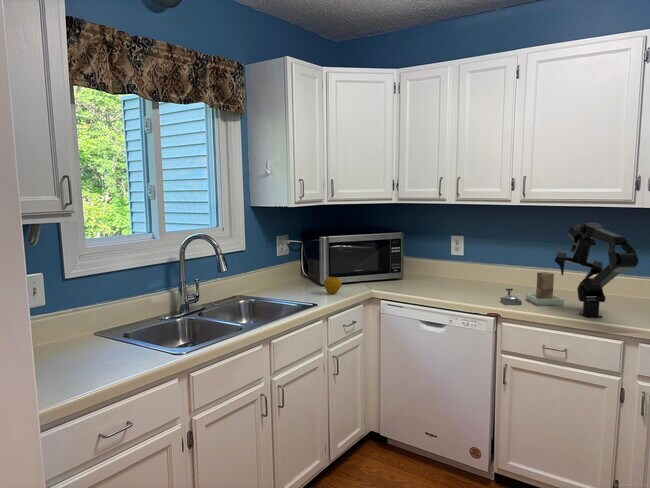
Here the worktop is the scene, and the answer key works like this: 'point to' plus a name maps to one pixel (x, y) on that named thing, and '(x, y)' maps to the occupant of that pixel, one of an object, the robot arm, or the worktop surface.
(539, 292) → the block
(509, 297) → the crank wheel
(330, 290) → the apple
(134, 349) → the worktop surface
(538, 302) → the tray
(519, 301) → the crank base
